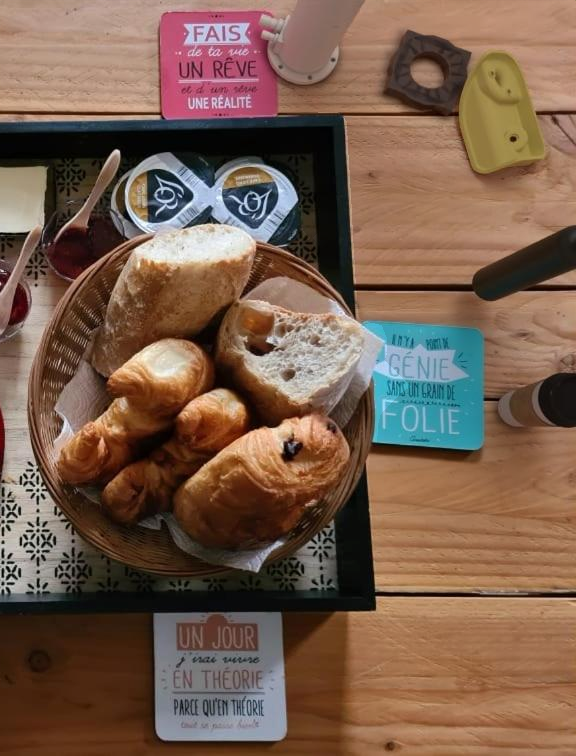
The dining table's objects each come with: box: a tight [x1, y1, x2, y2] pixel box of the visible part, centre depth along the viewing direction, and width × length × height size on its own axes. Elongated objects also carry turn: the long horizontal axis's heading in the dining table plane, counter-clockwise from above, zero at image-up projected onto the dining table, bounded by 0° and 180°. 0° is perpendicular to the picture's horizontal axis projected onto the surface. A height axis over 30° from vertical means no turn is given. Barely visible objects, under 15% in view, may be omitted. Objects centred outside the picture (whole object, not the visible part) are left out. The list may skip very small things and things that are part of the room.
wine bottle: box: [471, 224, 576, 302], centre depth 105 cm, size 6×6×30 cm
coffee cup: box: [497, 371, 576, 429], centre depth 115 cm, size 8×8×15 cm
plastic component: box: [458, 49, 547, 175], centre depth 128 cm, size 20×7×10 cm
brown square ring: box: [382, 29, 473, 117], centre depth 130 cm, size 13×13×2 cm
